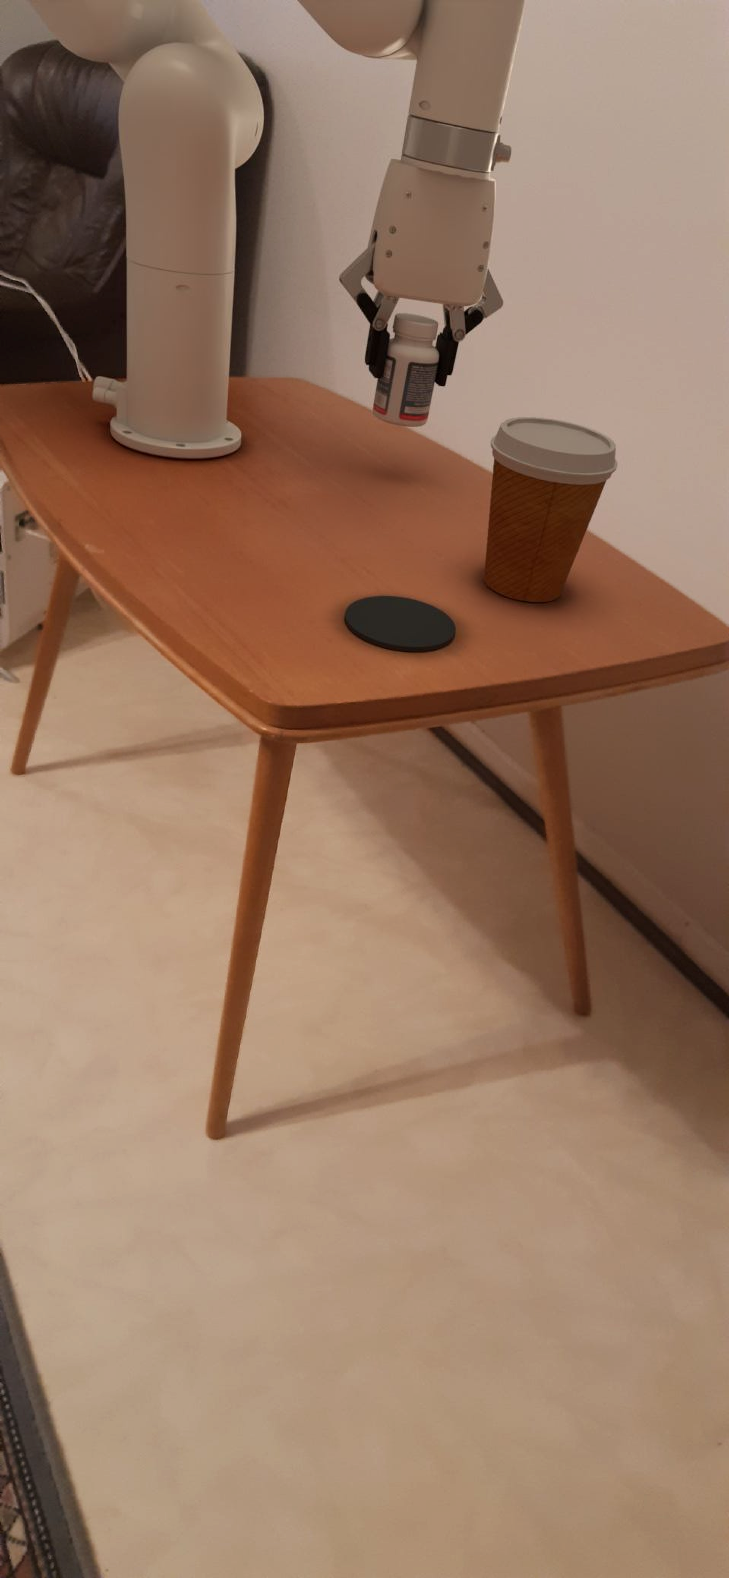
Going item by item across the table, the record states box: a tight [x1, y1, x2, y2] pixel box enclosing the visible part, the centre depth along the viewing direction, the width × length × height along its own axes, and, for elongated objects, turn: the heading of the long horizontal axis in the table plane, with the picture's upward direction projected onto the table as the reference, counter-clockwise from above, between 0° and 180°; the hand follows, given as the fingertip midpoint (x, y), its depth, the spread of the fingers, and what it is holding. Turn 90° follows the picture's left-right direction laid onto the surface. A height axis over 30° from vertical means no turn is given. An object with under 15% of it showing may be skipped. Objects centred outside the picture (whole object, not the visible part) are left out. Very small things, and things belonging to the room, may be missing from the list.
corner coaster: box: [344, 595, 457, 653], centre depth 73 cm, size 8×8×1 cm
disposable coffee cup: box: [483, 416, 619, 603], centre depth 79 cm, size 10×10×12 cm
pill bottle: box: [372, 312, 439, 428], centre depth 94 cm, size 5×5×9 cm
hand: (406, 376), depth 94 cm, fingers closed on pill bottle, 5 cm apart
